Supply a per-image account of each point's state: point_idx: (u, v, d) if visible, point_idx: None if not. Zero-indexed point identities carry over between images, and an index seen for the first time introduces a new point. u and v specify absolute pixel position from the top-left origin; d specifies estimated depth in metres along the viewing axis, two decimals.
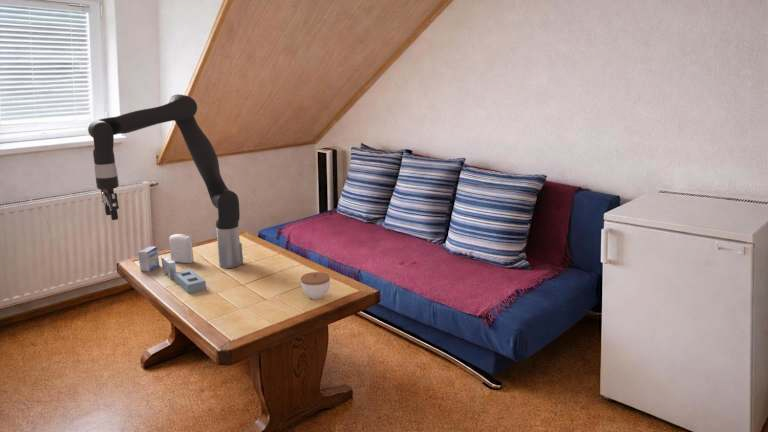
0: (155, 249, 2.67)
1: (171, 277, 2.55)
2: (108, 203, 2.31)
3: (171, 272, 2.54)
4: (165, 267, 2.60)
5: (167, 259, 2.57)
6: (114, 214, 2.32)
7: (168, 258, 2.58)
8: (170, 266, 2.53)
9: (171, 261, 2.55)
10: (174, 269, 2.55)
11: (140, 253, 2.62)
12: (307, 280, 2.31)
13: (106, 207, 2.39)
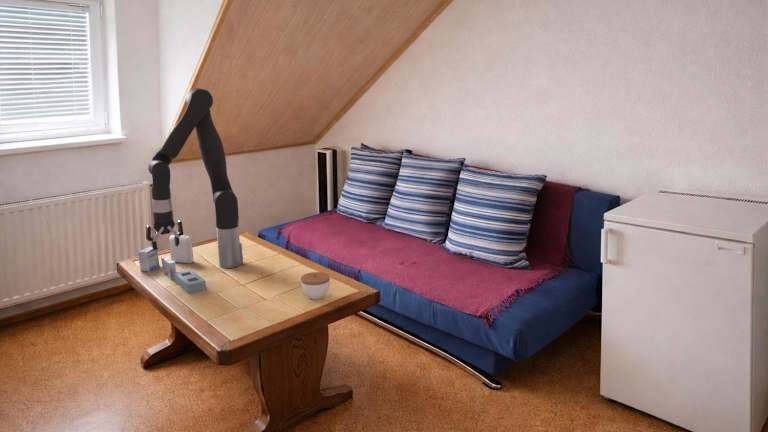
0: None
1: (171, 277, 2.55)
2: (175, 232, 2.55)
3: (171, 272, 2.54)
4: (165, 267, 2.60)
5: (167, 259, 2.57)
6: None
7: (168, 258, 2.58)
8: (170, 266, 2.53)
9: (171, 261, 2.55)
10: (174, 269, 2.55)
11: (140, 253, 2.62)
12: (307, 280, 2.31)
13: None
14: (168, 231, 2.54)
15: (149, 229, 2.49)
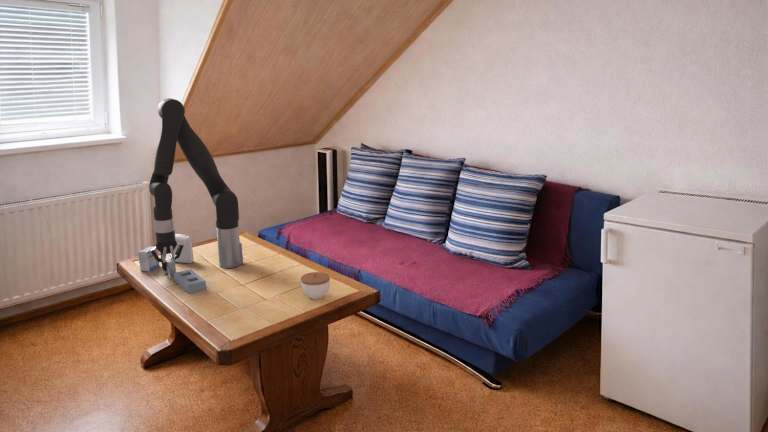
0: None
1: (171, 277, 2.55)
2: None
3: (171, 272, 2.54)
4: None
5: (167, 259, 2.57)
6: None
7: (168, 258, 2.58)
8: (170, 266, 2.53)
9: (171, 261, 2.55)
10: (174, 269, 2.55)
11: (140, 253, 2.62)
12: (307, 280, 2.31)
13: None
14: (168, 250, 2.56)
15: (154, 252, 2.52)
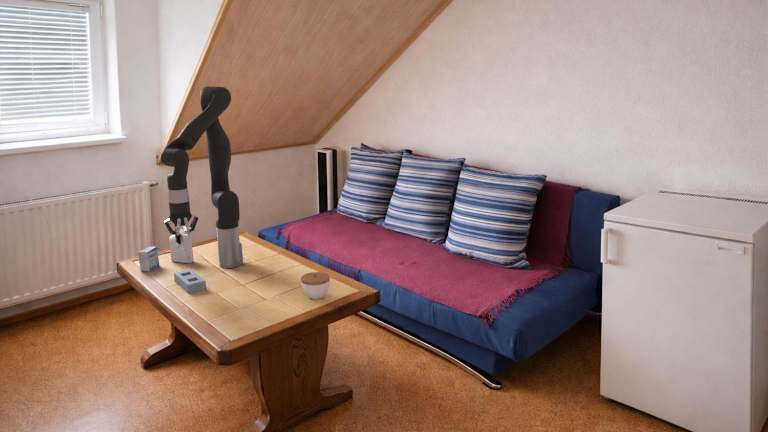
0: (155, 249, 2.67)
1: (185, 250, 2.42)
2: (188, 226, 2.44)
3: (185, 245, 2.41)
4: None
5: (181, 232, 2.44)
6: None
7: (182, 231, 2.45)
8: (184, 239, 2.40)
9: (185, 234, 2.42)
10: (188, 242, 2.42)
11: (140, 253, 2.62)
12: (307, 280, 2.31)
13: None
14: (182, 222, 2.42)
15: (167, 224, 2.39)
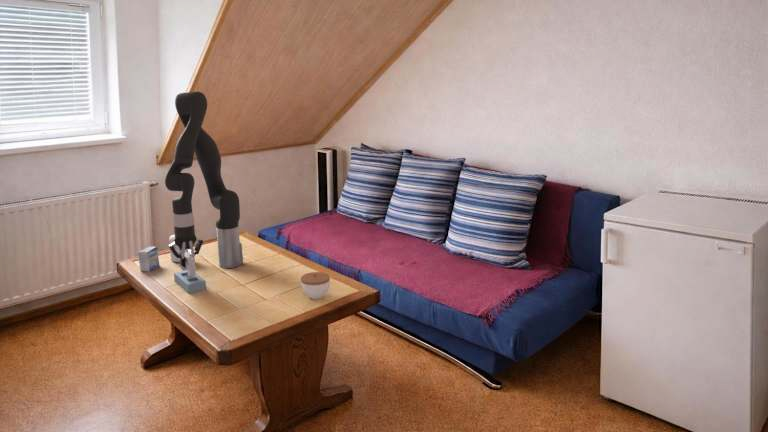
0: (155, 249, 2.67)
1: (190, 274, 2.43)
2: (193, 250, 2.45)
3: (190, 268, 2.43)
4: None
5: (186, 255, 2.45)
6: None
7: (187, 254, 2.46)
8: (189, 262, 2.42)
9: (190, 257, 2.43)
10: (193, 265, 2.43)
11: (140, 253, 2.62)
12: (307, 280, 2.31)
13: None
14: (187, 246, 2.44)
15: (172, 248, 2.40)
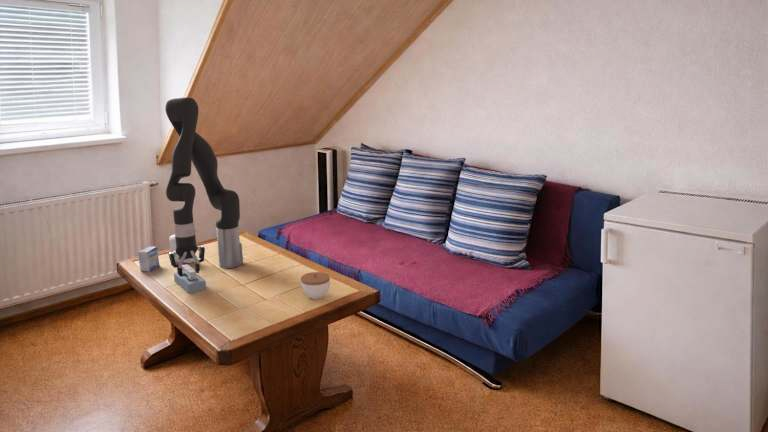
0: (155, 249, 2.67)
1: None
2: None
3: None
4: None
5: (188, 268, 2.47)
6: None
7: (188, 267, 2.48)
8: (191, 275, 2.43)
9: (192, 270, 2.45)
10: (195, 279, 2.45)
11: (140, 253, 2.62)
12: (307, 280, 2.31)
13: None
14: (190, 256, 2.45)
15: (172, 256, 2.41)
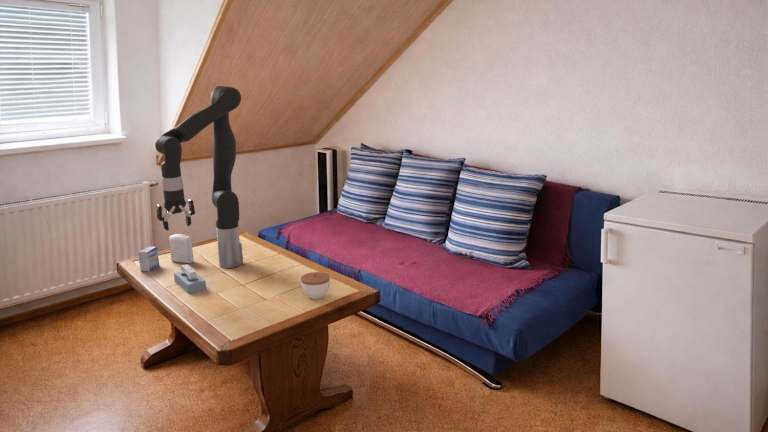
0: (155, 249, 2.67)
1: None
2: (187, 211, 2.47)
3: None
4: None
5: (187, 268, 2.47)
6: None
7: (188, 267, 2.48)
8: (191, 276, 2.43)
9: (192, 270, 2.45)
10: (195, 279, 2.45)
11: (140, 253, 2.62)
12: (307, 280, 2.31)
13: None
14: (179, 210, 2.46)
15: (160, 208, 2.41)
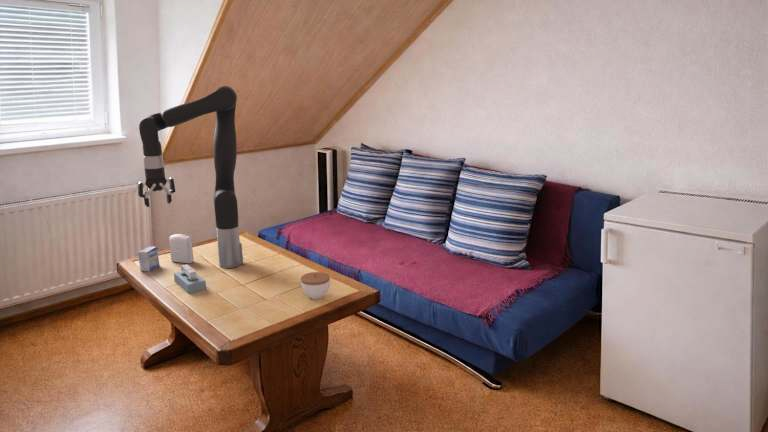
0: (155, 249, 2.67)
1: None
2: None
3: None
4: None
5: (187, 268, 2.47)
6: None
7: (188, 267, 2.48)
8: (191, 275, 2.43)
9: (192, 270, 2.45)
10: (195, 279, 2.45)
11: (140, 253, 2.62)
12: (307, 280, 2.31)
13: None
14: (160, 188, 2.57)
15: (141, 185, 2.52)
